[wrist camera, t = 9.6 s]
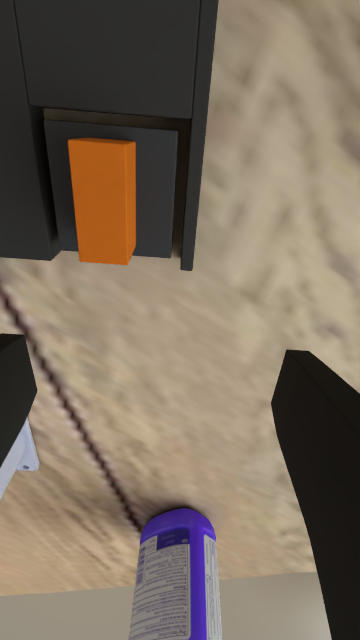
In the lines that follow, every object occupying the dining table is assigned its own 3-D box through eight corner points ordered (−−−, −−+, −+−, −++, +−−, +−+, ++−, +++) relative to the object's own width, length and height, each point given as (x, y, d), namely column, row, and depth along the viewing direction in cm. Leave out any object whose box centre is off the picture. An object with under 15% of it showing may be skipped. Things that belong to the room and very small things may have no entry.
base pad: (-110, 238, 17) (-135, 248, 15) (-299, -222, 9) (-375, -277, 8) (191, 260, 17) (192, 271, 16) (232, -167, 10) (238, -211, 9)
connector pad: (69, 241, 17) (39, 270, 13) (55, 120, 14) (13, 117, 10) (171, 248, 17) (168, 279, 13) (178, 130, 14) (176, 131, 11)
